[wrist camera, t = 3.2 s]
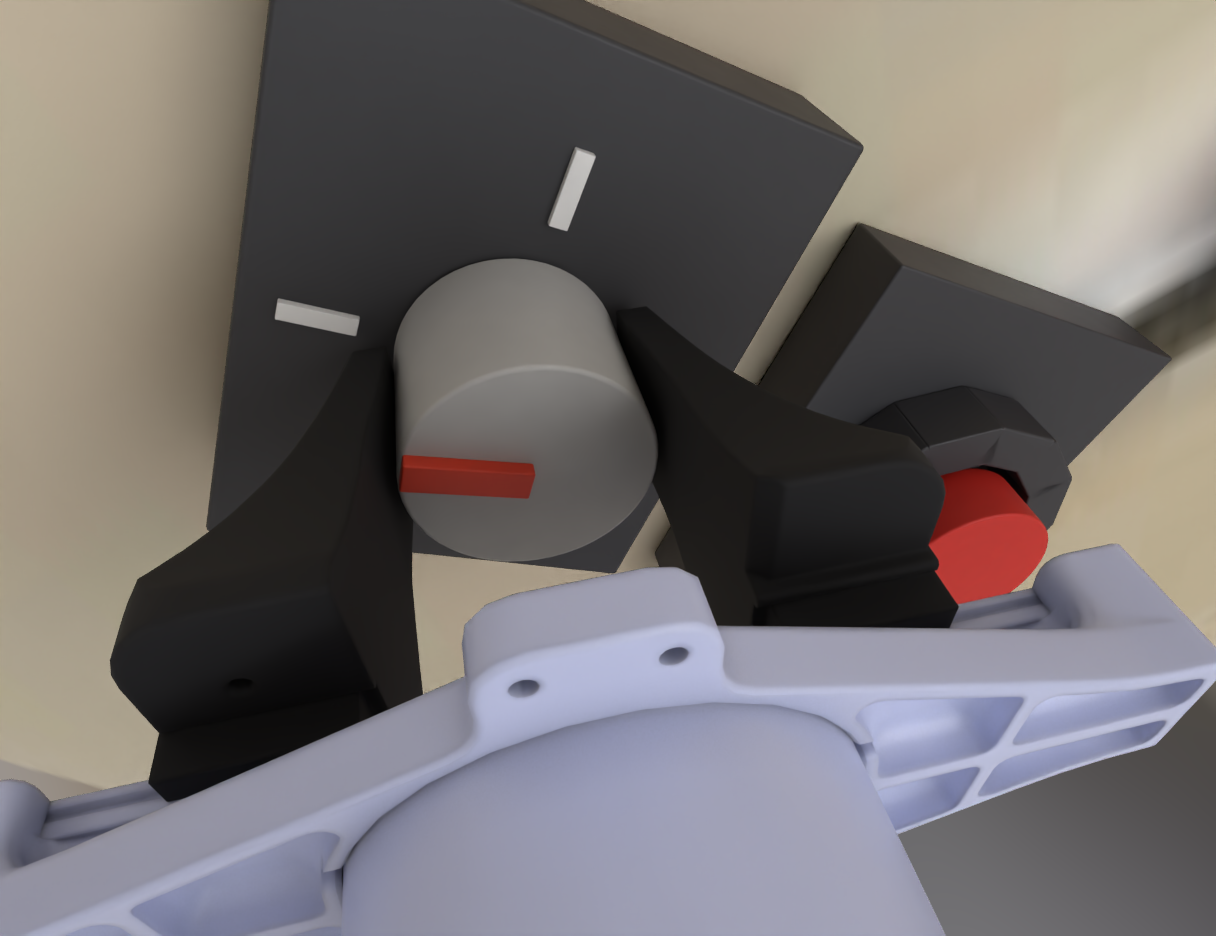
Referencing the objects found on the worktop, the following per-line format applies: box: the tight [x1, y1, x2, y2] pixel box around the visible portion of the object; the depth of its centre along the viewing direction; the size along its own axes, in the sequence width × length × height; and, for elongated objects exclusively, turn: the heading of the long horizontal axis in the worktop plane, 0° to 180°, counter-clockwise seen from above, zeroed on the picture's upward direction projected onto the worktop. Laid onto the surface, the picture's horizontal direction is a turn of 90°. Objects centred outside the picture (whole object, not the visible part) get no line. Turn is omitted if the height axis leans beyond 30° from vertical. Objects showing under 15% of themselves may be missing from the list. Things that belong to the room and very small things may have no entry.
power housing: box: [655, 224, 1171, 571], centre depth 23 cm, size 12×10×4 cm
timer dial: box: [394, 258, 658, 561], centre depth 14 cm, size 4×4×4 cm
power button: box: [929, 468, 1048, 604], centre depth 21 cm, size 4×4×2 cm
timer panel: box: [206, 0, 864, 573], centre depth 16 cm, size 12×10×3 cm
